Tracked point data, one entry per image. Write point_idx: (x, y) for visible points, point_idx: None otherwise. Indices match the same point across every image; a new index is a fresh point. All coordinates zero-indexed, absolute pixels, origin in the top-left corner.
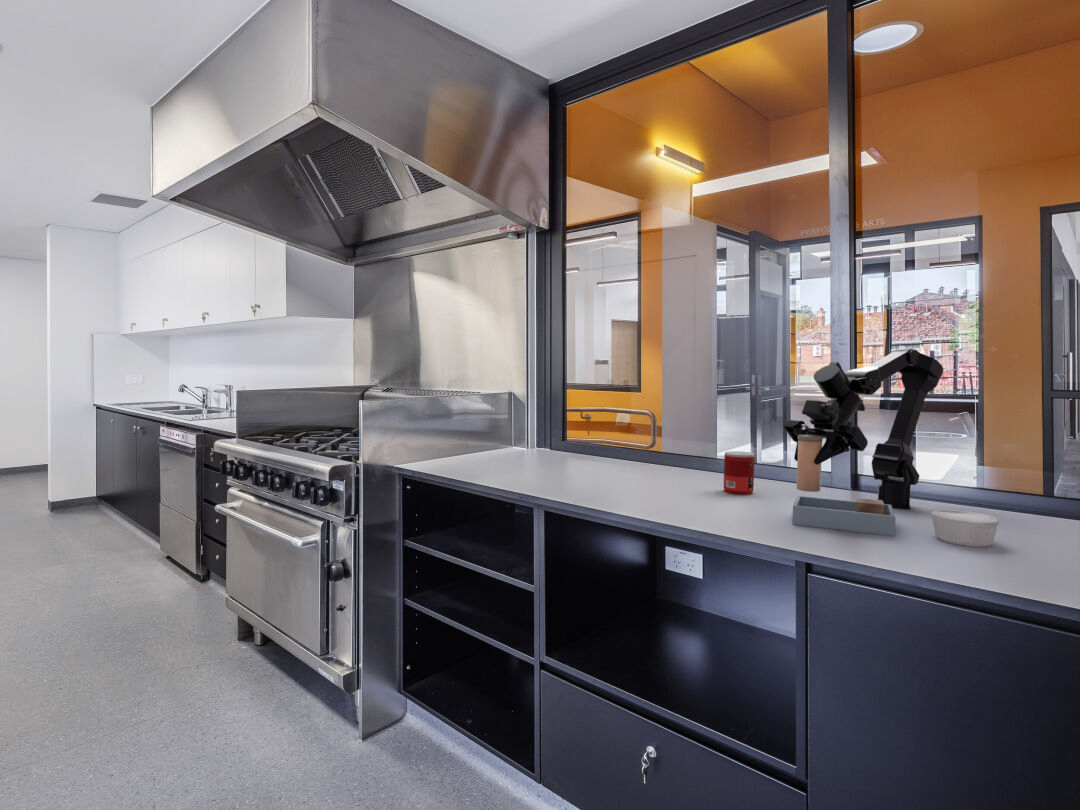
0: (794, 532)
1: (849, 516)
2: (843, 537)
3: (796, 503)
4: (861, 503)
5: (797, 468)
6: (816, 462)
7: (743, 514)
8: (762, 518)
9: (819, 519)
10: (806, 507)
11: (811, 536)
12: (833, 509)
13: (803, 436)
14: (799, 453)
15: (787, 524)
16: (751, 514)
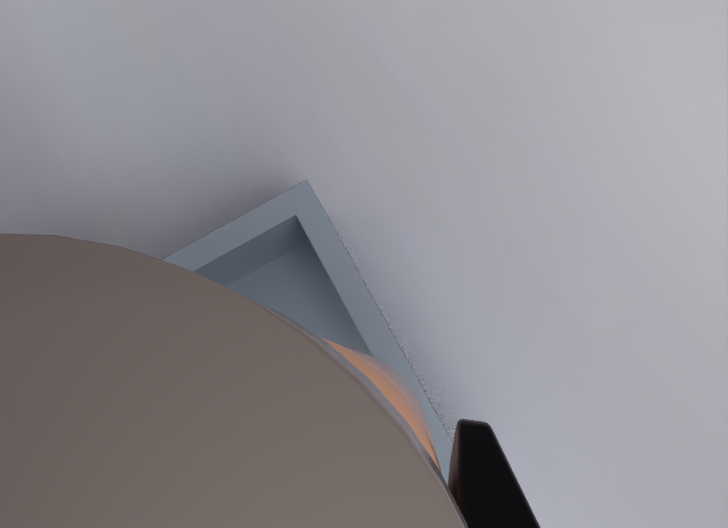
0: (221, 72)
1: None
2: (20, 205)
3: (340, 277)
4: None
5: (398, 383)
6: None
7: (650, 165)
8: (514, 182)
9: None
10: (227, 223)
11: (128, 80)
12: None
13: (19, 242)
14: (327, 342)
15: (341, 187)
16: (624, 210)
